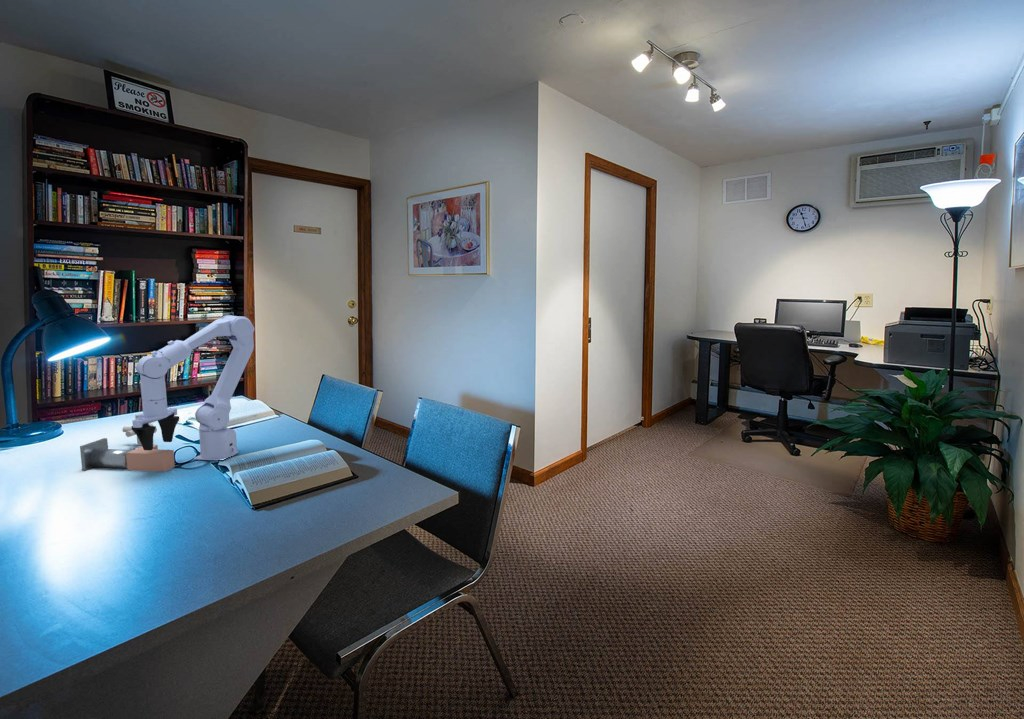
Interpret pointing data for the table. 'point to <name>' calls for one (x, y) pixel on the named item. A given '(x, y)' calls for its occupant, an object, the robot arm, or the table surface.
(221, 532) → the table surface
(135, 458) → the tan piece
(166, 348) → the robot arm
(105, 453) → the grey cylinder with plate
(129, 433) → the pipe connector
